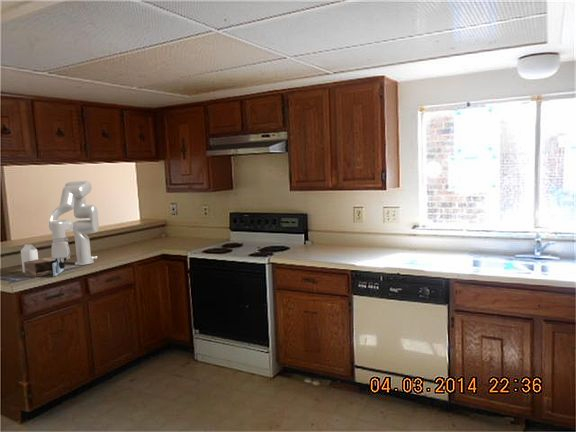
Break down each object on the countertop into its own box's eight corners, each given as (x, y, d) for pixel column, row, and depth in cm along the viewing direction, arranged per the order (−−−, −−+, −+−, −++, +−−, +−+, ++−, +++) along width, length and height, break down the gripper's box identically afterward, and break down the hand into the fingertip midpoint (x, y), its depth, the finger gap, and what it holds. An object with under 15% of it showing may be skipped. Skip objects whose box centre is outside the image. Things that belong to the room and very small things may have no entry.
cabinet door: (61, 270, 300) (60, 258, 299) (65, 270, 300) (64, 258, 299) (53, 276, 282) (52, 263, 282) (57, 276, 283) (55, 263, 282)
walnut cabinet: (52, 269, 307) (50, 256, 306) (62, 271, 300) (60, 258, 300) (25, 275, 292) (23, 262, 291) (35, 277, 285) (33, 263, 284)
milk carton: (30, 273, 298) (27, 245, 296) (22, 272, 301) (19, 245, 299) (39, 271, 305) (36, 243, 303) (32, 270, 307) (29, 243, 306)
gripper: (73, 238, 292) (76, 266, 293) (49, 240, 289) (51, 268, 291) (69, 240, 284) (72, 268, 286) (44, 242, 282) (47, 270, 284)
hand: (62, 268), depth 288 cm, fingers closed
